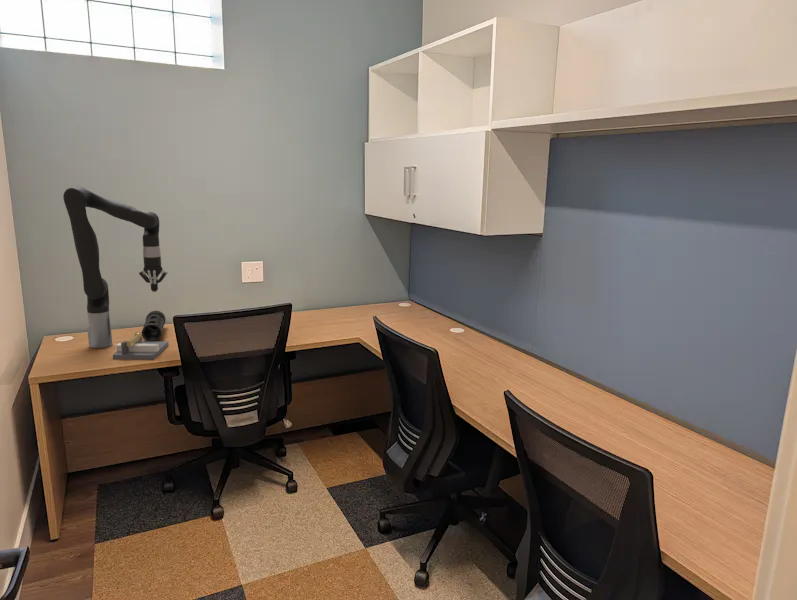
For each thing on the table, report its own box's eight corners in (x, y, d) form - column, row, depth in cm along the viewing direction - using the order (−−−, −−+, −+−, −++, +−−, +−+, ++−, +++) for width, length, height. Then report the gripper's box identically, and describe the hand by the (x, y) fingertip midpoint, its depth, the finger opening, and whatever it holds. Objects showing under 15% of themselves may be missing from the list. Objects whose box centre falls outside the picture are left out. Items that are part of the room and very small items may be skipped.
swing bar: (136, 337, 267) (136, 332, 266) (143, 337, 267) (142, 332, 267) (125, 346, 255) (124, 340, 254) (132, 346, 255) (131, 340, 254)
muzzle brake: (141, 344, 275) (140, 324, 272) (147, 328, 301) (145, 309, 298) (162, 343, 278) (161, 323, 275) (166, 327, 304) (165, 309, 301)
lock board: (112, 359, 254) (111, 343, 253) (130, 344, 274) (129, 330, 272) (153, 359, 256) (152, 343, 254) (168, 345, 275) (167, 330, 273)
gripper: (169, 254, 269) (171, 289, 273) (140, 253, 268) (143, 289, 272) (163, 257, 261) (166, 293, 265) (134, 256, 260) (137, 292, 265)
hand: (154, 291), depth 269 cm, fingers closed
